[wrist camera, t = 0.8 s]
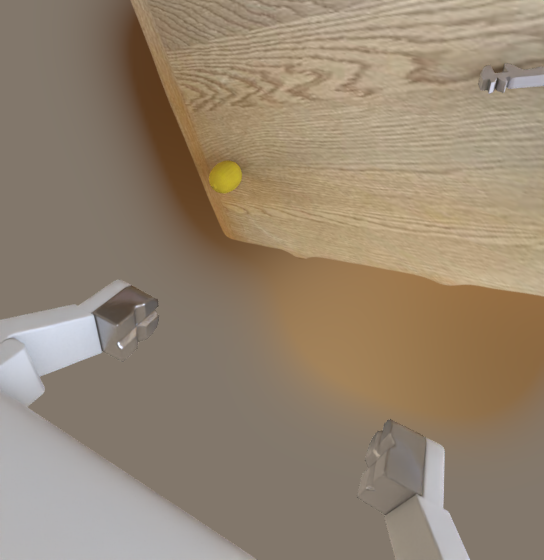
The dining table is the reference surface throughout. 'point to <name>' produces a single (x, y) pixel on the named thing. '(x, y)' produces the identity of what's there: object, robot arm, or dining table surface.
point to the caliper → (510, 78)
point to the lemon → (225, 176)
